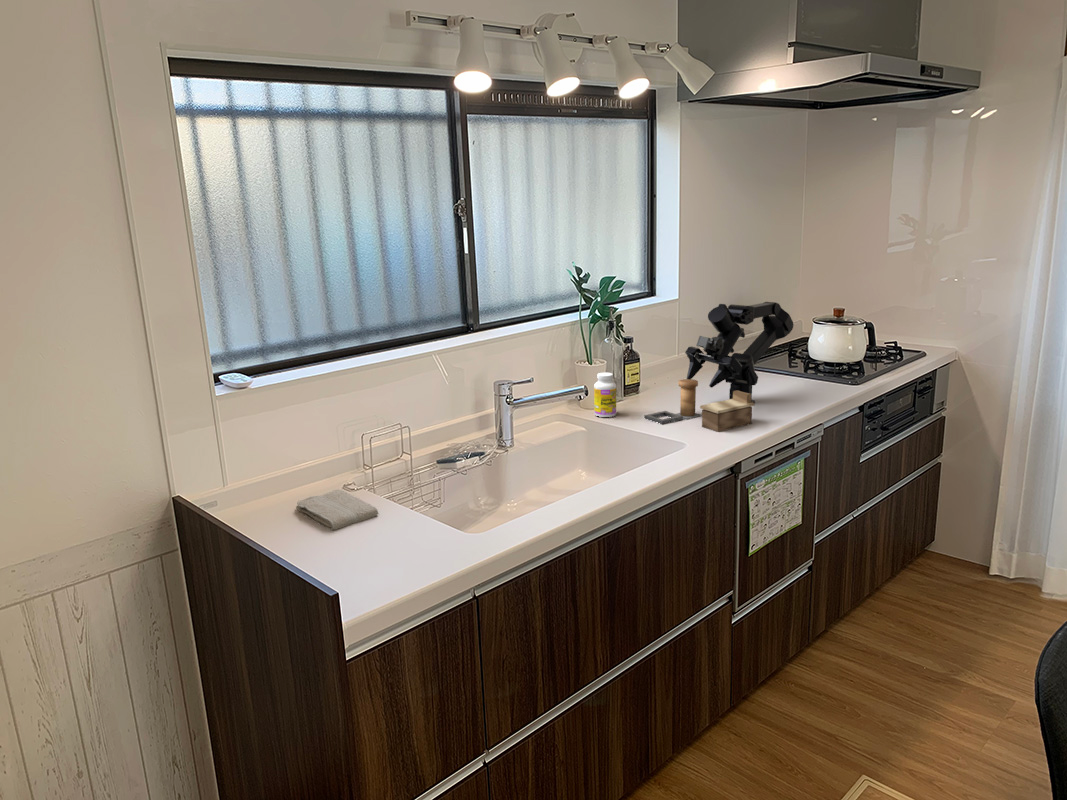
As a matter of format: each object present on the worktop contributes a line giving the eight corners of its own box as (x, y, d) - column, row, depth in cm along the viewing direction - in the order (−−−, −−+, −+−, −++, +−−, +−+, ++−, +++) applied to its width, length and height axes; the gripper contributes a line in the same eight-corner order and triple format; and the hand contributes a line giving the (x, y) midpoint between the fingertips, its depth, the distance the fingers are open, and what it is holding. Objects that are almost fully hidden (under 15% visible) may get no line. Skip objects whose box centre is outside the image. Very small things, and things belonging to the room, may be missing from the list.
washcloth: (339, 497, 194) (337, 485, 193) (381, 517, 181) (380, 504, 180) (292, 512, 186) (290, 499, 185) (332, 534, 173) (331, 520, 172)
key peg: (688, 411, 251) (689, 378, 249) (701, 415, 247) (701, 381, 244) (674, 414, 249) (674, 381, 246) (686, 418, 244) (687, 384, 241)
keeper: (665, 413, 251) (665, 410, 250) (682, 419, 244) (682, 416, 244) (644, 418, 247) (644, 415, 246) (661, 424, 240) (661, 421, 240)
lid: (736, 400, 242) (736, 389, 241) (754, 405, 236) (754, 394, 235) (700, 408, 235) (700, 397, 234) (717, 413, 229) (718, 402, 228)
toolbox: (735, 418, 243) (736, 402, 241) (751, 423, 237) (752, 406, 236) (701, 426, 236) (702, 409, 235) (717, 431, 231) (717, 414, 230)
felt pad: (688, 411, 252) (688, 410, 252) (702, 416, 247) (702, 415, 247) (673, 415, 249) (673, 414, 249) (686, 419, 244) (686, 418, 244)
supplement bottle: (598, 419, 248) (598, 377, 244) (591, 413, 254) (590, 372, 251) (619, 416, 249) (619, 375, 246) (611, 411, 256) (611, 370, 252)
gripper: (689, 320, 252) (663, 362, 250) (737, 330, 237) (708, 375, 235) (707, 341, 259) (681, 382, 256) (754, 352, 244) (727, 395, 242)
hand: (698, 383), depth 247 cm, fingers open, 9 cm apart
